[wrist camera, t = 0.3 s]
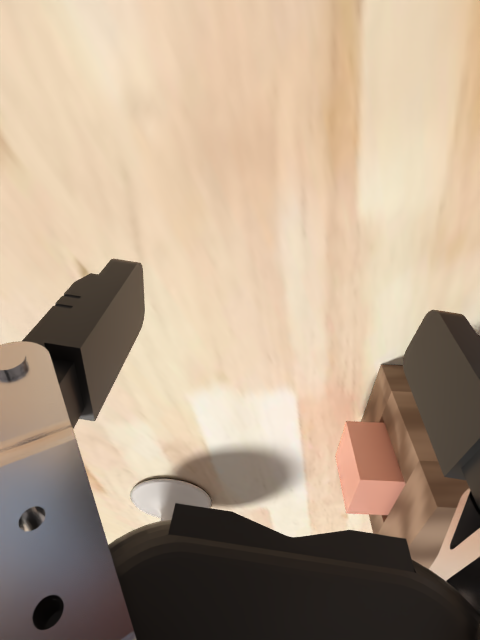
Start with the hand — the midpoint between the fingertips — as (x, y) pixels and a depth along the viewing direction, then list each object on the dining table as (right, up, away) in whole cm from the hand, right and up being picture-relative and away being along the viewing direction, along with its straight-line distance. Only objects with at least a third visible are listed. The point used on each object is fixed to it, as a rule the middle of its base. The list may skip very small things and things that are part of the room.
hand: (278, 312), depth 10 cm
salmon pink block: (+15, -13, +27) cm, 33 cm away
